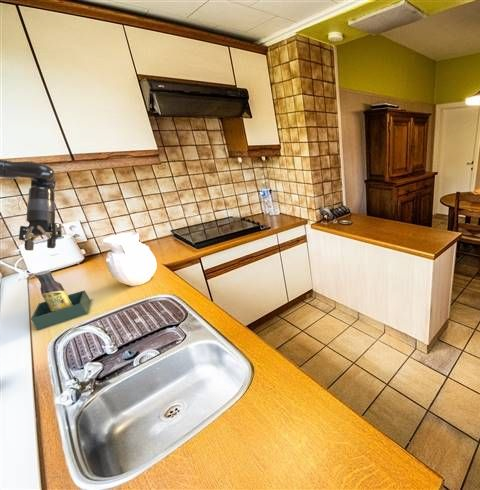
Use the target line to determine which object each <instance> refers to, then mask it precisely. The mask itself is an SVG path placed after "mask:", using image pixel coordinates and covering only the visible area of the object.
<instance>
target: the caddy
mask: <svg viewBox="0 0 480 490" xmlns="http://www.w3.org/2000/svg"><path fill="white" fill-rule="evenodd" d="M67 295H68V297H69V299H70V301H71V303H72V305H73V306H70V307H67V308H63V309H60V310H57V311H54V312H51V310H50V308H49V307H48V305H47V303H46V301H42V302H39V303H38V304H37V306H36V308H35V310H34V312H33V314H32V315H31V317H30V320H31V323H33V325H34V326H35V328H36V329H37V330H38V331H40V330H42V329H46V328H49V327H51V326H55V325H57V324H61V323H63V322H66V321H70V320H74V319H76V318H80V317H82V316H85V315H88V312H89V307H90V302H91V299H90V297H89V296H88V293H87V292H86V290H81V291H78V292H73V293H70V294H67Z"/></svg>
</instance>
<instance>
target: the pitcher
mask: <svg viewBox="0 0 480 490" xmlns="http://www.w3.org/2000/svg"><path fill="white" fill-rule="evenodd" d="M139 240H140V233H139V232H136V231H130V232H128V231H127V232H121V233H118V234H113V235H110V236H107V237H105V238H103V240H102V243H103V244H104V246H106V247H107V248H109V250H111V251H107V254H106V258H105V262H106V266H107V270H108V272H109V274H110V275H111V277H112V278H113V279H115V280H116V281H117V282H119V283H121V284H124V285H127V286H129V287H137V286H140V285H143V284H145V283H148V282H149V281H150V280H151V279H152V277H154V274H155V273H156V271H157V268H158V267H157V264H158V263H157V260H156V257H155V255H154V253H153V252H152V251H151V250H150V247H149V246H148V245H147V244H145V243H142V242H141V241H139Z"/></svg>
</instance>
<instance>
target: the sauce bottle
mask: <svg viewBox="0 0 480 490" xmlns="http://www.w3.org/2000/svg"><path fill="white" fill-rule="evenodd" d="M35 278H36V279H38V281H39V284H40V293H41V296H42V298H43V300H44V302H46V303H47V305H48V307H49V308H50V310H51V312H54V311H57V310H60V309H63V308H67V307H70V306H73V305H72V303H71V301H70V299H69V297H68V295H69V294H68V293H67V292H66V290H65V288H64V287H63V285H62V283H60V282H58V281H57V280H55V278H54V276H53V275H52V272H51V270H42V271H39V272H37V273H35Z"/></svg>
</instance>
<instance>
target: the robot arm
mask: <svg viewBox="0 0 480 490" xmlns="http://www.w3.org/2000/svg"><path fill="white" fill-rule="evenodd" d="M56 177H57V176H56V174H55V171H54V169H53V168H52V167H51V166H49V165H46V164H44V163H39V162H29V161H11V160H6V159H1V158H0V178H6V179H15V180H16V179H18V178H24V179H25V178H28V179H30V188H29V189H28V197H27V198H28V200H27V205H26V222H27V223H29V224H28V226H25V225H20V227H19V234H18V240H19V241H22V242H23V241H24V250H25V251H34V246H35V245H34V244H35V242H34V241H35V240H36V239H37V238H39V236H45V237H46V238H47V240H46V243H47V244H46V248H48V249H55V248H56V246H57V245H56V243H57V242H56V241H57V239H59V238H62V236H63V233H62V224H61V223H59V222H56V204H55V195H56V194H55V189H56V181H57V178H56Z"/></svg>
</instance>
